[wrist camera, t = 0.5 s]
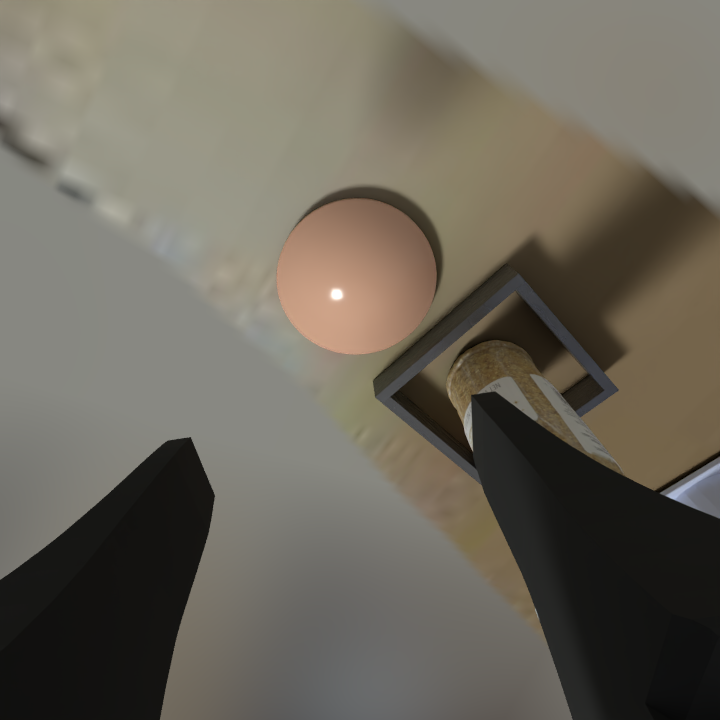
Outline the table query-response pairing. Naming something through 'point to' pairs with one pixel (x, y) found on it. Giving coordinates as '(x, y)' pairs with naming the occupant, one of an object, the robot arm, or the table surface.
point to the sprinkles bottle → (519, 395)
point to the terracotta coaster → (356, 276)
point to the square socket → (452, 329)
